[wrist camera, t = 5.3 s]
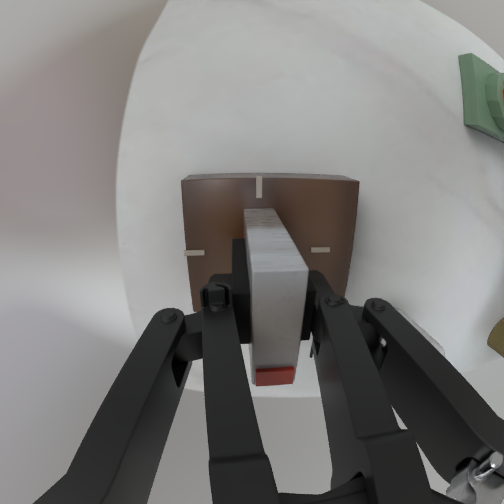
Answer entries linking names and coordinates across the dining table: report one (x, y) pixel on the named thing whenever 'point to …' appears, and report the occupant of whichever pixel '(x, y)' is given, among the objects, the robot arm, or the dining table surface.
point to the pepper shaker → (497, 338)
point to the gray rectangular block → (273, 297)
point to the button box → (482, 96)
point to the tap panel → (287, 208)
